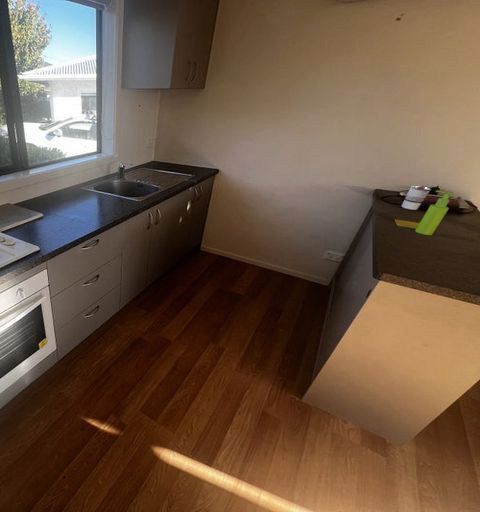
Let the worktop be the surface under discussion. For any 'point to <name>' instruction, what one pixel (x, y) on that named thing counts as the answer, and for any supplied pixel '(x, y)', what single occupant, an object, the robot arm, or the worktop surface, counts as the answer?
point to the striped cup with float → (415, 197)
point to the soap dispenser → (434, 215)
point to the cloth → (407, 224)
